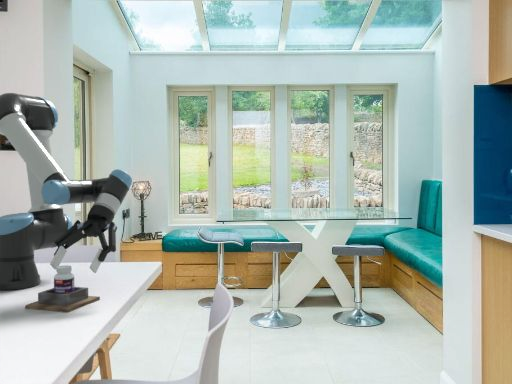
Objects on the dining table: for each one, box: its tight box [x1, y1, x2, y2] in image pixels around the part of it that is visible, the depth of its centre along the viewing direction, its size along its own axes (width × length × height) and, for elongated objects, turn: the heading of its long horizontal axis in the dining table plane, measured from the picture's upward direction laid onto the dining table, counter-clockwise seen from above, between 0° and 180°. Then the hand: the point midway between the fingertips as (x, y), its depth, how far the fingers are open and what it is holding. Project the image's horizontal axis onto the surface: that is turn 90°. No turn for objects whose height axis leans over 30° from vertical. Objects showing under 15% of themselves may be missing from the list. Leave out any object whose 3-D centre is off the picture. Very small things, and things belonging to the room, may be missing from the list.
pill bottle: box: [53, 264, 75, 294], centre depth 141 cm, size 5×5×10 cm
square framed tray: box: [25, 286, 101, 313], centre depth 141 cm, size 14×14×4 cm
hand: (72, 268), depth 143 cm, fingers open, 13 cm apart
